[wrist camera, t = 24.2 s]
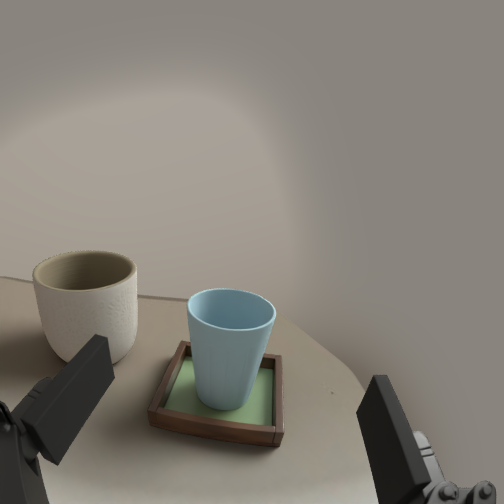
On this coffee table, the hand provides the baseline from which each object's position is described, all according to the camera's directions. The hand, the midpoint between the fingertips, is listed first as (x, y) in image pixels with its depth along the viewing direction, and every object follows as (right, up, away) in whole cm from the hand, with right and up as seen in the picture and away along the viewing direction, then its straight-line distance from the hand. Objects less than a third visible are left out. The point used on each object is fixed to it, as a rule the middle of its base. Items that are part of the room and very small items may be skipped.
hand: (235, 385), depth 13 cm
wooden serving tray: (-2, -9, +15) cm, 18 cm away
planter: (-19, -6, +19) cm, 27 cm away
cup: (-2, -9, +15) cm, 18 cm away
